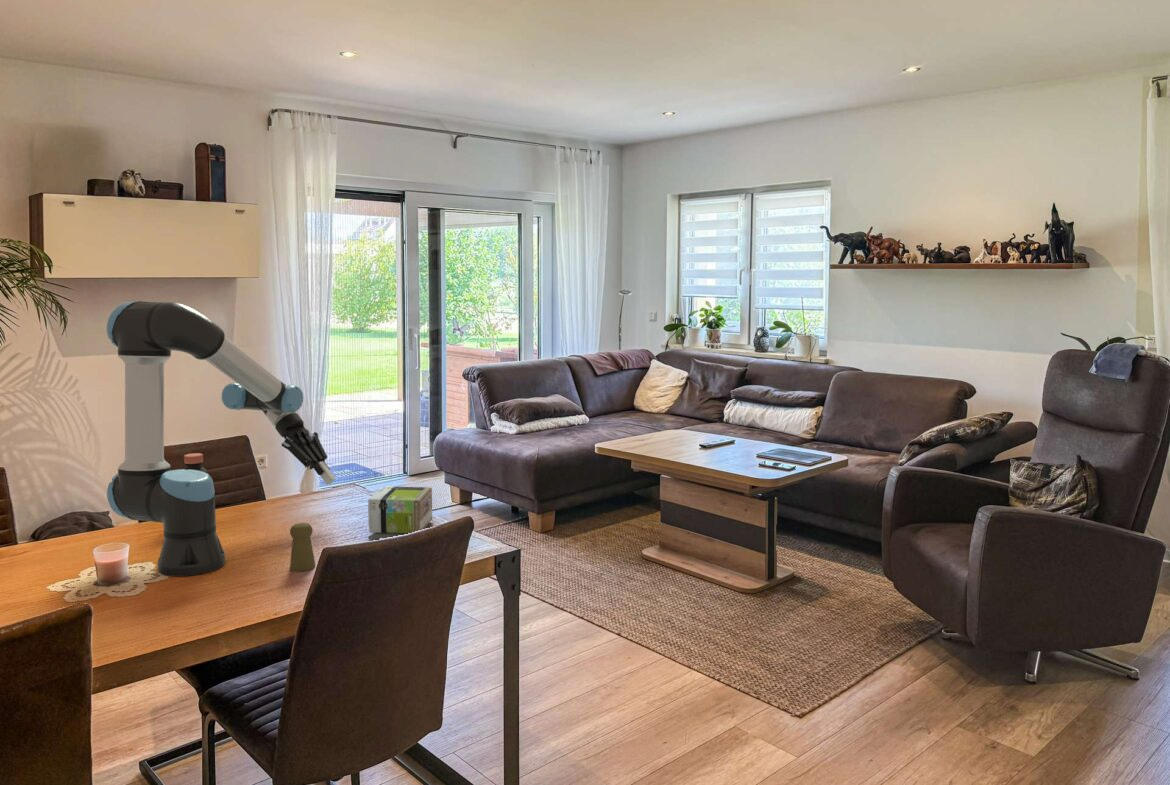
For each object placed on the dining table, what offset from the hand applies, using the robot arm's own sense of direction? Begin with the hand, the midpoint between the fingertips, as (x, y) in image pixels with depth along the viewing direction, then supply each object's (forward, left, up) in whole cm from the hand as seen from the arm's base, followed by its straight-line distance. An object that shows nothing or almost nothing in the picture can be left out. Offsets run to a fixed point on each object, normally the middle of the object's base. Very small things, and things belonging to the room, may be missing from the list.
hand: (331, 481), depth 245 cm
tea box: (+2, -14, -7) cm, 16 cm away
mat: (0, -23, -12) cm, 27 cm away
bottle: (-16, +36, -13) cm, 41 cm away
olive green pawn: (-33, -19, -13) cm, 40 cm away
